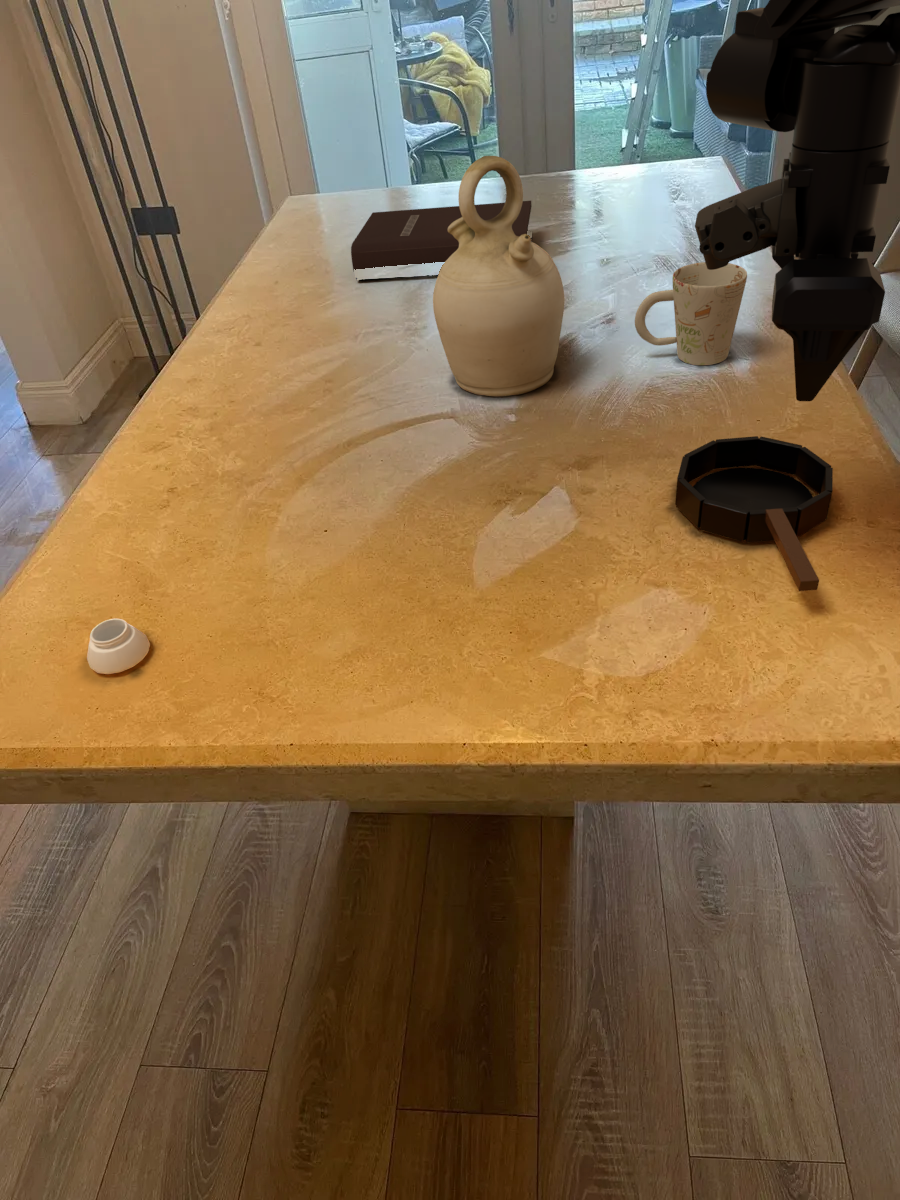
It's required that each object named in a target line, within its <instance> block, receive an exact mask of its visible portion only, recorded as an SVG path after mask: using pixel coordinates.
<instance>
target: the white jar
mask: <svg viewBox="0 0 900 1200" xmlns="http://www.w3.org/2000/svg"><path fill="white" fill-rule="evenodd" d="M87 646H88V647H87V648H88V649H87V654H86V661H87V663H88V666H89V668H90V669H91V670H93V671H94V672H95V673H97V674H102V675H104V674H105V675H111V674H117V673H121V672H125V671H127V670H129V669H132V668H133V667H135V666H136V665H137V664H139V663H140V662H142V661H143V660H144V658H145V657H146V656H147V655H148V653H149V651H150V646H151V643H150V641H149V639H148V636H147V634H146V633H144V632H143V631H142V630H139V629H138V628H136V627H135V626H133V625H132V624H130V623H128V622H127V621H126V620H125V619H122V618H116V617H115V618H110V619H106V620H103V621H101V622H100V623H98V624H97V625H96V626H94V627H93V628H92V630H91V631H90V634H89V642H88V645H87Z"/></svg>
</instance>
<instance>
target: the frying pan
mask: <svg viewBox="0 0 900 1200" xmlns="http://www.w3.org/2000/svg"><path fill="white" fill-rule="evenodd" d="M718 469H719V470H718ZM720 469H721V470H720ZM714 470H716V471H714ZM712 471H714V472H712ZM710 472H711V473H710ZM706 474H707V475H706ZM704 475H705V476H704ZM790 475H792V476H795V477H797V478H798V479H799V480H798V479H796V478H795V477H792V476H790ZM698 478H700V479H698ZM697 479H698V480H697ZM694 480H697V481H696V482H695V483H694V484H693V485H692V484H691V482H692V481H693V482H694ZM833 480H834V468H833V467H832V465H831V464H830V463H829V462H827V461H826V460H824V459H823V458H821V457H820V456H818V455H817V454H816V453H815V452H813V451H812V450H810V449H809V448H808V447H807V446H803V445H801V444H799V443H798V444H797V443H793V442H788V441H784V440H779V439H775V438H771V437H766V436H761V435H760V437H759V436H758V435H755V436H754V435H753V436H743V437H741V436H740V437H729V438H717V439H715V440H714V439H713V440H711V441H709V442H707V443H705V444H703V445H701V446H699V447H697V448H695V449H693V450H691V451H690V452H687V453H685V454H684V455H683V456H682V458H681V463H680V467H679V470H678V473H677V478H676V490H675V503H674V505H675V508H676V509H678V510H679V512H681V513H682V514H683V516H685V518H687V520H688V521H690V523H691V524H693V525H694V526H695V528H697V529H699V530H700V531H703V532H706V533H710V534H713V535H717V536H720V537H723V538H727V539H730V540H734V541H737V542H739V543H740V542H741V543H744V542H746V543H747V544H748V543H762V542H775V545H776V547H777V549H778V551H779V553H780V555H781V557H782V559H783V562H784V564H785V566H786V567H787V570H788V571H789V574H790V576H791V578H792V580H793V581H794V584H795V587H796V589H797V590H798V592H806V591H808V592H810V591H818V588H819V585H820V584H819V583H820V578H819V577H818V575H817V573H816V571H815V569H814V567H813V565H812V563H811V561H810V560H809V557H808V556H807V553H806V551H805V550H804V548H803V546H802V543H801V542H800V540H799V538H800V537H801V536H803V535H804V534H806V533H808V532H809V531H811V530H813V529H814V528H816V527H818V526H819V525H821V524H822V523H824V522H825V521H827V519H828V514H829V510H830V506H831V501H832V497H833V496H832V495H833V492H834V491H833V483H834V481H833ZM802 482H803V483H802ZM806 485H807V486H808V487H809V488H811V490H813V491H815V492H816V493H817V494H816V495H815V496H814V495H813V494H812V492H811V491H810V489H809V488H808V487H807V486H806Z"/></svg>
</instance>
